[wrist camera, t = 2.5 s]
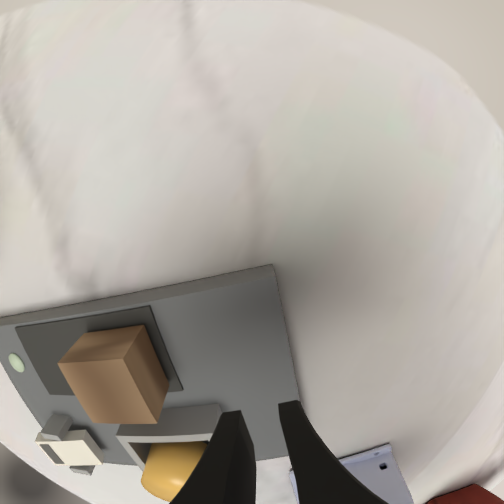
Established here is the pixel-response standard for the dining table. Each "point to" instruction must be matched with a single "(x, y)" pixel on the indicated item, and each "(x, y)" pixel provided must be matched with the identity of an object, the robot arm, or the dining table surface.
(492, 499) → the plant pot
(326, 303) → the dining table surface
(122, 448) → the panel
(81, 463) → the rocker switch
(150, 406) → the block
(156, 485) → the push button
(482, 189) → the dining table surface
